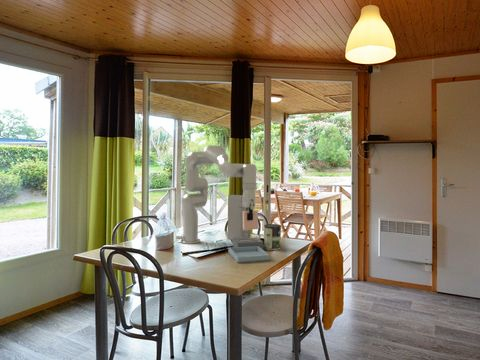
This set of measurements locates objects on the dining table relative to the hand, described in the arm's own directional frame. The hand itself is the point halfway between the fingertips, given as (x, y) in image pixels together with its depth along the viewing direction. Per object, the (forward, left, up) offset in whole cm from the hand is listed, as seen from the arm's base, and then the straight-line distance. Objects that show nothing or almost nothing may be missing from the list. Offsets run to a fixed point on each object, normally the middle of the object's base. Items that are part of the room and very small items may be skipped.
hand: (249, 219), depth 186 cm
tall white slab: (+6, +42, -21) cm, 48 cm away
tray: (0, 0, -21) cm, 21 cm away
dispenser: (+5, +18, -21) cm, 28 cm away
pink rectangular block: (+1, 0, -5) cm, 6 cm away
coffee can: (+20, +15, -21) cm, 33 cm away
